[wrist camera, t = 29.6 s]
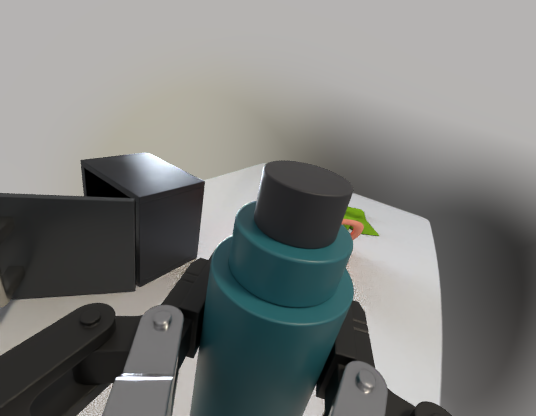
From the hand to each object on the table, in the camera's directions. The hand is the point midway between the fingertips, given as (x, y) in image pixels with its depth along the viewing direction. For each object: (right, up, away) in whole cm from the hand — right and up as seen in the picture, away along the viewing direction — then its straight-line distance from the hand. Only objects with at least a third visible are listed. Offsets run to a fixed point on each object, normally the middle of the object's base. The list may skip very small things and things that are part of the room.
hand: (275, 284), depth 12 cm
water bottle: (-2, -7, +1) cm, 8 cm away
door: (-28, -10, +27) cm, 40 cm away
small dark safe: (-24, -5, +41) cm, 48 cm away
